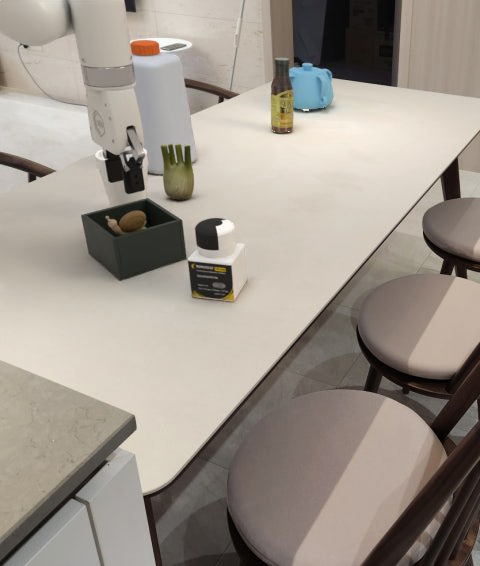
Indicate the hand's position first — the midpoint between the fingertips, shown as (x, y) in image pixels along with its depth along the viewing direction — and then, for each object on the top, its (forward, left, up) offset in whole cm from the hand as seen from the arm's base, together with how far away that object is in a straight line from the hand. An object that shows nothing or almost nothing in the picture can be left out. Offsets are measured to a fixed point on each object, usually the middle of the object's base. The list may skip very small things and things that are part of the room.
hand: (126, 185), depth 106 cm
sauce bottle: (+66, +45, -14) cm, 81 cm away
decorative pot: (+88, +61, -14) cm, 108 cm away
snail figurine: (0, 0, -12) cm, 12 cm away
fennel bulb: (+19, +19, -14) cm, 30 cm away
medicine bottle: (+5, -19, -14) cm, 24 cm away
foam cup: (+7, +17, -14) cm, 23 cm away
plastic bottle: (+26, +41, -14) cm, 50 cm away
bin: (0, 0, -13) cm, 13 cm away
